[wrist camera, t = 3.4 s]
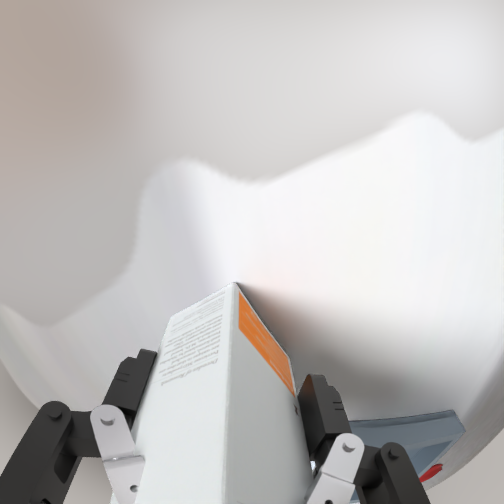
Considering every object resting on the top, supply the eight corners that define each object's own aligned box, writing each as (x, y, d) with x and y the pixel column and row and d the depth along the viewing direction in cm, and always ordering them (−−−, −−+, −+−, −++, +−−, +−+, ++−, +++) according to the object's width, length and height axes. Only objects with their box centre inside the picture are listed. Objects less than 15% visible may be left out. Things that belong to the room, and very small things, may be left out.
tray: (452, 409, 20) (465, 431, 18) (394, 474, 24) (401, 493, 22) (348, 421, 19) (358, 451, 16) (299, 485, 23) (303, 508, 21)
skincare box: (292, 355, 17) (332, 558, 5) (230, 383, 17) (226, 571, 6) (235, 275, 15) (225, 540, 3) (167, 313, 15) (95, 533, 4)
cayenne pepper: (451, 458, 26) (456, 468, 25) (430, 476, 28) (433, 485, 26) (395, 467, 25) (399, 479, 23) (371, 485, 26) (375, 496, 24)
